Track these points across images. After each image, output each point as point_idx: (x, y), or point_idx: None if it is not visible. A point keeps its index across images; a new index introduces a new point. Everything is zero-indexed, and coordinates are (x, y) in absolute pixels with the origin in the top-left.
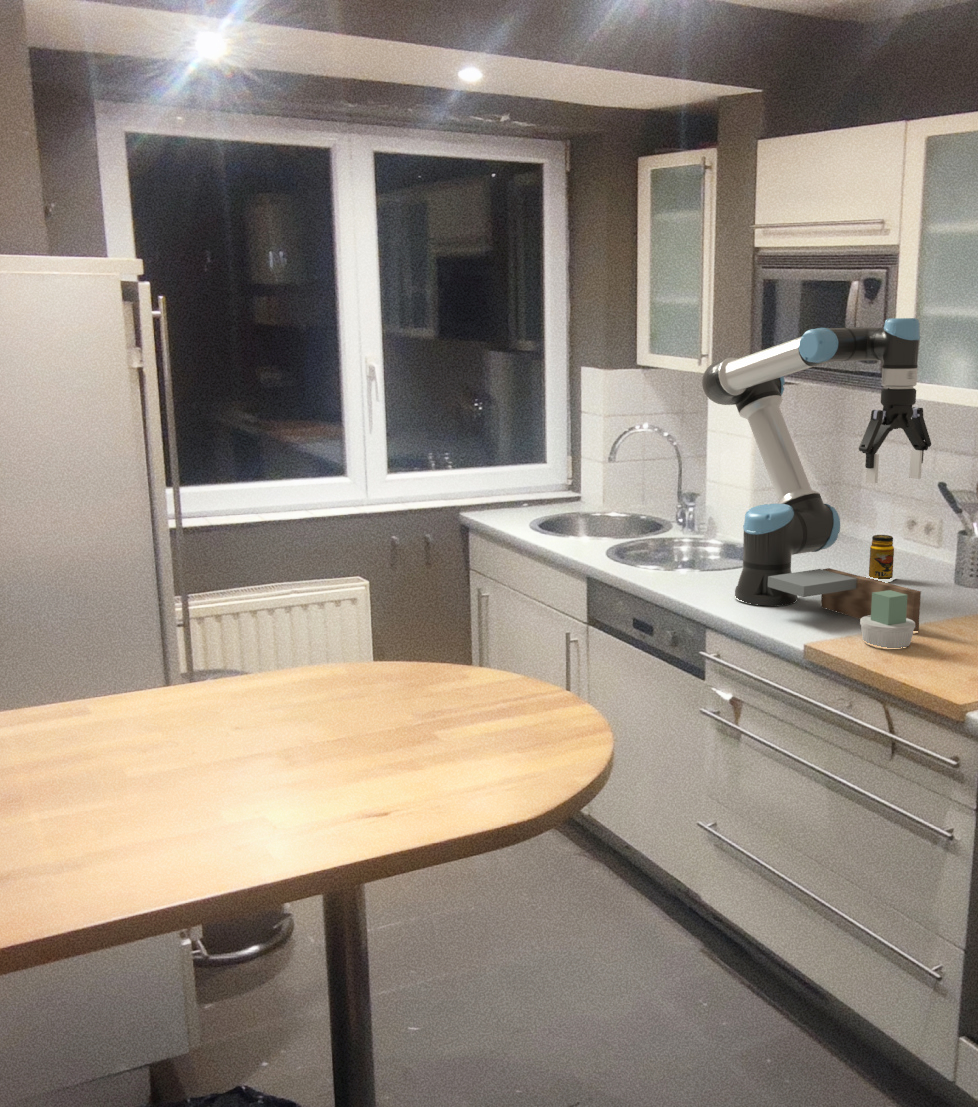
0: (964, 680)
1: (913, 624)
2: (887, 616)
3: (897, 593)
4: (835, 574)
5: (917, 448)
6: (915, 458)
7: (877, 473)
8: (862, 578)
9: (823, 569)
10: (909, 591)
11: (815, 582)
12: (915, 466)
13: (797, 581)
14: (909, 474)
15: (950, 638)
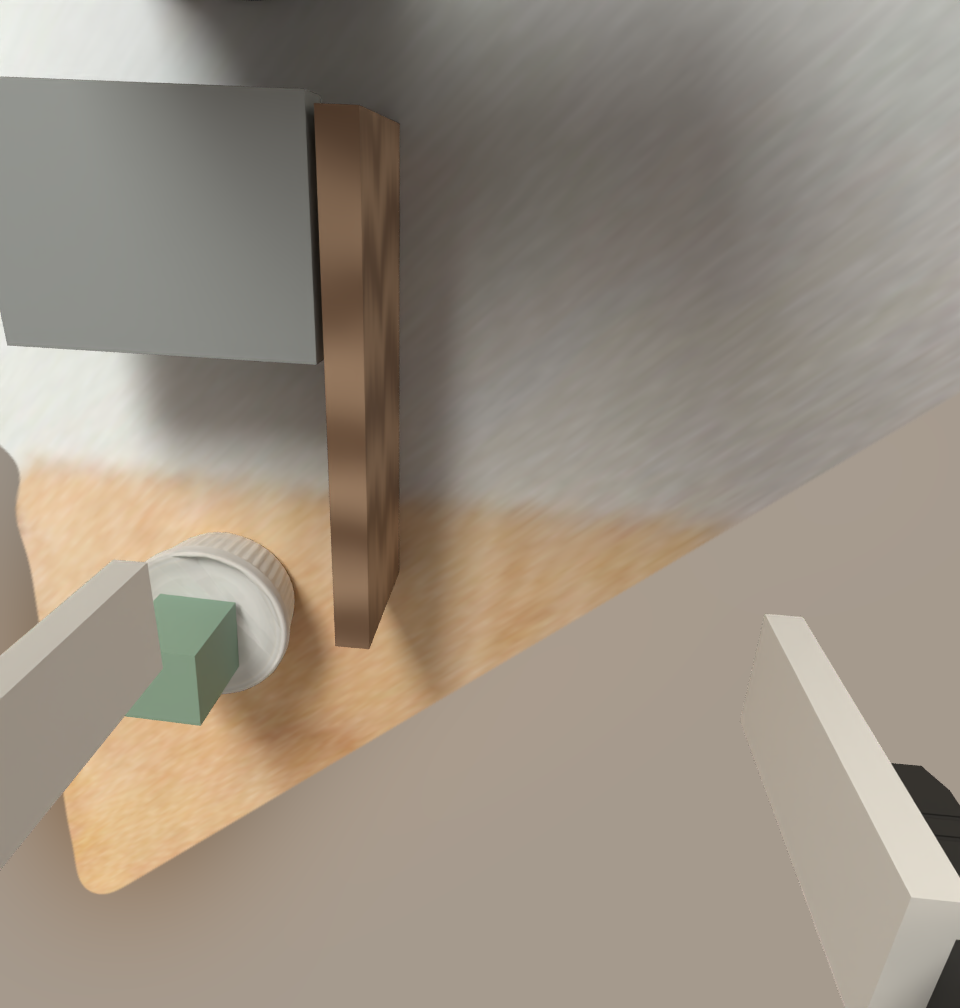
0: (190, 838)
1: (244, 689)
2: None
3: (183, 697)
4: (285, 245)
5: (952, 1006)
6: (828, 857)
7: (102, 734)
8: (337, 380)
9: (314, 110)
10: (335, 625)
11: (96, 317)
12: (787, 777)
13: (32, 254)
14: (776, 632)
15: (437, 650)
